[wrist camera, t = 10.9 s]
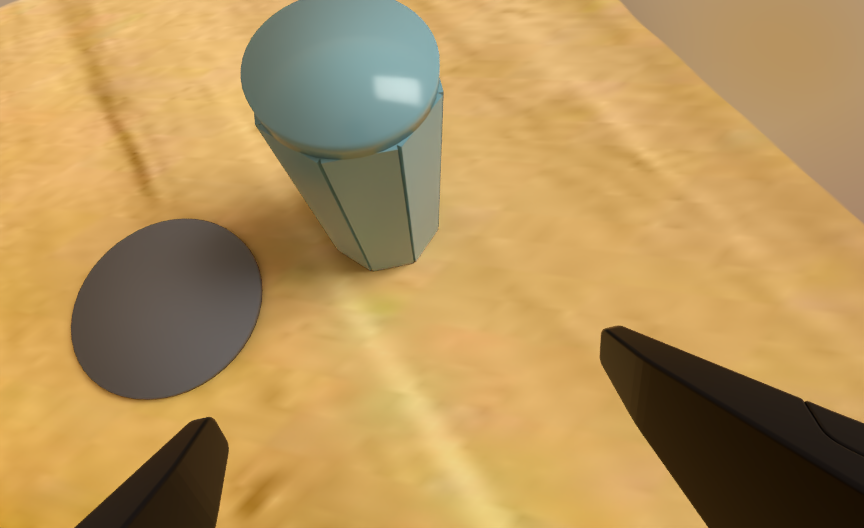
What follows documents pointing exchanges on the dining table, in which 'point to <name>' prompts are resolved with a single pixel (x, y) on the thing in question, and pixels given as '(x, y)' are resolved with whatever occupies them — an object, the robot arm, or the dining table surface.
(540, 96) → the dining table surface
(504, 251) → the dining table surface
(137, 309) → the disc
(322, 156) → the blue-grey tall faceted cylinder
